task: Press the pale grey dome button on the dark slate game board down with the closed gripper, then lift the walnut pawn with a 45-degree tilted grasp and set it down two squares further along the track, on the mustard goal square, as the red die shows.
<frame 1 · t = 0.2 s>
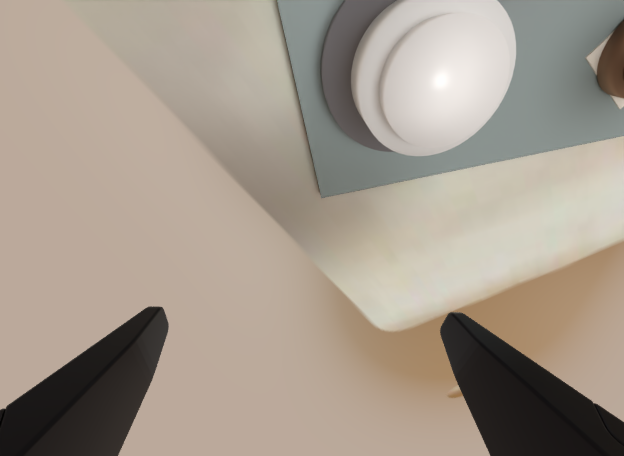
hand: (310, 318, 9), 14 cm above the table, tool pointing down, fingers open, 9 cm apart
pop dome: (428, 80, 13), point 6 cm above the table, slide at 0.0 cm
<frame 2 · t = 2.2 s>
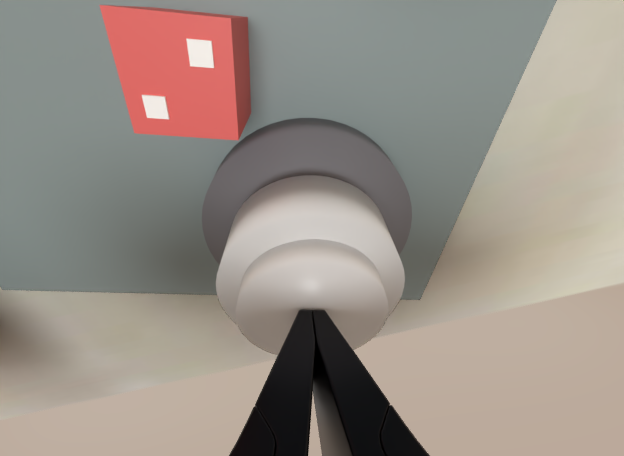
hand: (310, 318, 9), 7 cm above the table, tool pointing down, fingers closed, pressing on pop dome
pop dome: (310, 276, 11), point 5 cm above the table, slide at 0.5 cm, touching gripper
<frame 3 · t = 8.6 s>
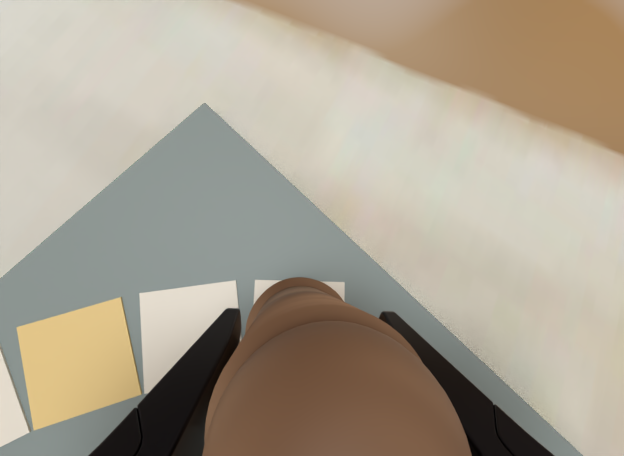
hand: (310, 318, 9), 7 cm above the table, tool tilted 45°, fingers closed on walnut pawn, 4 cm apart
walnut pawn: (298, 327, 15), point 1 cm above the table, touching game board, gripper
when the fingers open (9 cm above the table, at t = 11.9 s): walnut pawn drops 1 cm, resting on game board.
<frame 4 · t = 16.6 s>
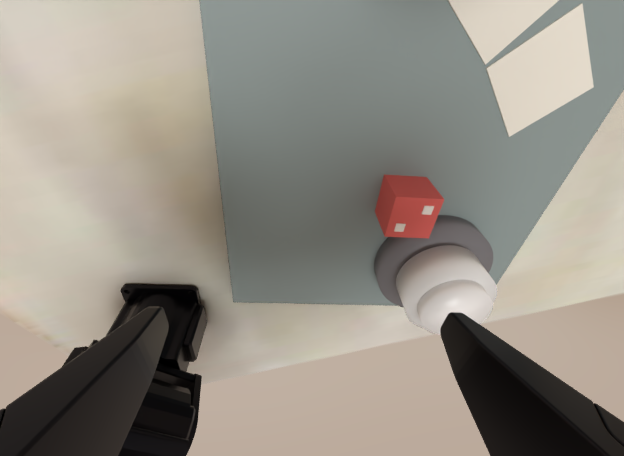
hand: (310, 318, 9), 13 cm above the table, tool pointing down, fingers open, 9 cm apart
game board: (405, 130, 19), on the table
pop dome: (445, 294, 22), point 5 cm above the table, slide at 0.9 cm
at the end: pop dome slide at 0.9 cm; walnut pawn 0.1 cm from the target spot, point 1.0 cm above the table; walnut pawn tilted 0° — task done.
